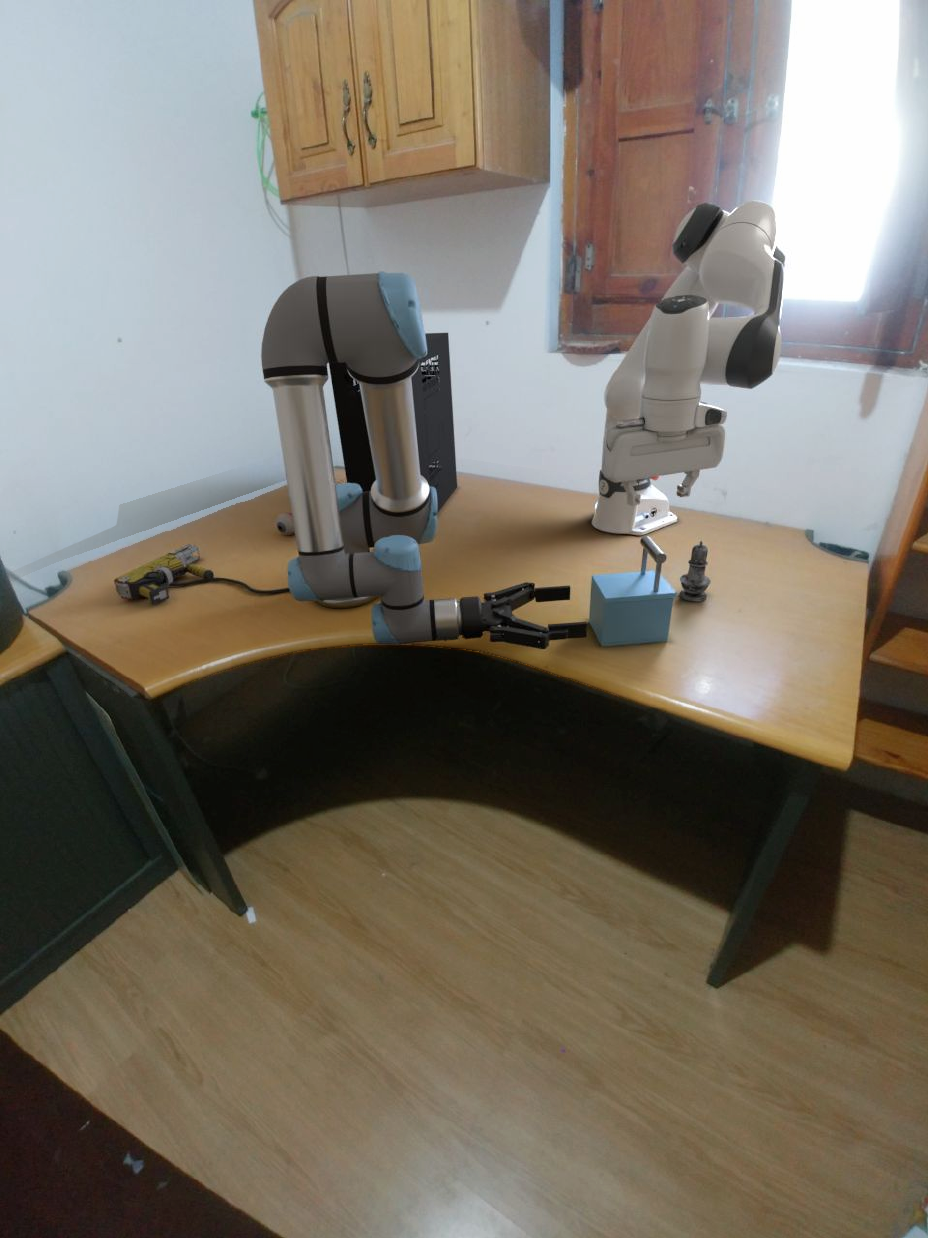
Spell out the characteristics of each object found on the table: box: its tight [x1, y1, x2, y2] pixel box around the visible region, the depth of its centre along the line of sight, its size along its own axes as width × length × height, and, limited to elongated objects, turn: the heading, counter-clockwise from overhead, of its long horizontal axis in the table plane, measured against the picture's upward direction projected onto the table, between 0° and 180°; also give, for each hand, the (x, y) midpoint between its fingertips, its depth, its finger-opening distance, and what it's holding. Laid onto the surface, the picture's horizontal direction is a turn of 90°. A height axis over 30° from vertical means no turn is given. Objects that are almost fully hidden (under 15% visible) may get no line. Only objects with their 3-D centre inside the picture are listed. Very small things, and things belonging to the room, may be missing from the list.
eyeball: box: [275, 511, 295, 536], centre depth 163 cm, size 6×6×6 cm
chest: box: [588, 579, 674, 648], centre depth 111 cm, size 12×9×9 cm
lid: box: [591, 535, 677, 603], centre depth 107 cm, size 12×9×8 cm
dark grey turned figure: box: [678, 540, 712, 603], centre depth 120 cm, size 6×6×12 cm
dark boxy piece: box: [328, 332, 458, 514], centre depth 169 cm, size 38×20×45 cm, turn 167°
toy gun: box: [113, 543, 215, 606], centre depth 141 cm, size 5×24×15 cm
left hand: (577, 610), depth 108 cm, fingers open, 13 cm apart
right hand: (658, 500), depth 101 cm, fingers open, 8 cm apart
